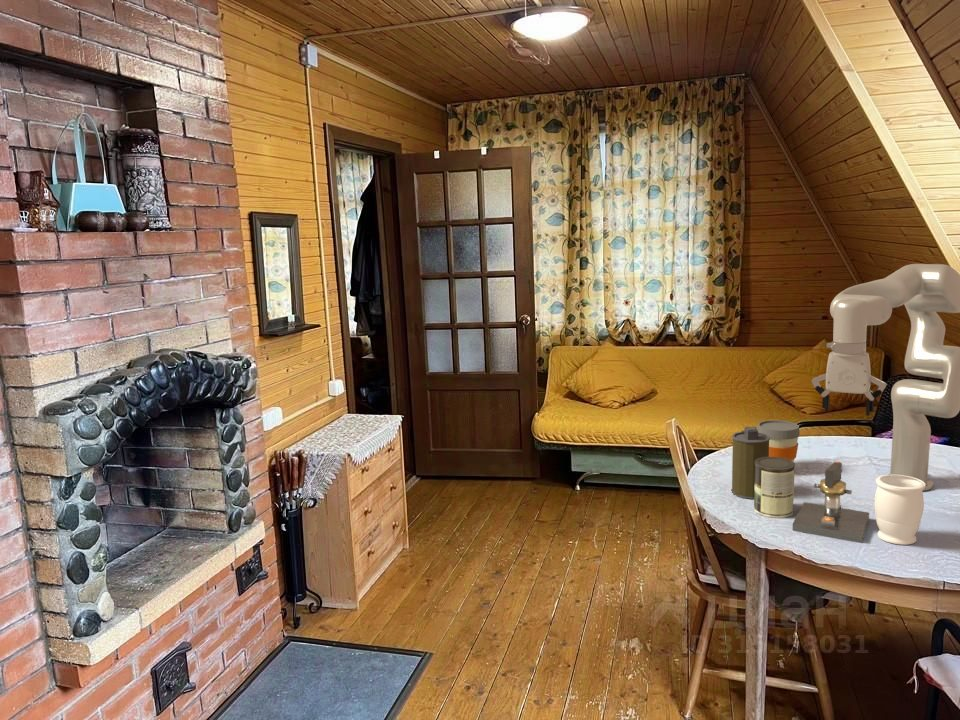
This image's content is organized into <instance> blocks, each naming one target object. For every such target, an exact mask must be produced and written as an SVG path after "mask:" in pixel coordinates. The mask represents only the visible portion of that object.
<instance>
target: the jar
mask: <svg viewBox="0 0 960 720" xmlns="http://www.w3.org/2000/svg"><path fill="white" fill-rule="evenodd" d="M875 483H876V485H877V487H876V490H875V493H874V500H873V501H874V513H875V521H876V524H877V527H878V529H879V530H878V532H877V534H876V535H877V537H878V539H880V540H881V541H884V542H887V543H889V544H895V545H899V546H900V545H903V546H904V545H913V544H914V543H916V542H917V537H916V533H917V532H918V530H919V528H920V525H921V521H922V518H923V514H924V508H925V507H924V506H925V504H924V503H925V501H924V499H925V498H924V493H923V491H922V490H924V488H925V483H924V482H923V481H921V480H919V479H917V478H913V477H909V476H904V475H888V474H883V475H882V474H881V475H879V476H877V477H876V478H875Z"/></svg>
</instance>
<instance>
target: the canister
mask: <svg viewBox="0 0 960 720" xmlns="http://www.w3.org/2000/svg"><path fill="white" fill-rule="evenodd" d="M757 428H758V427H757V426H755V425H754V426H744V429H743V430H741V431H738V432H735V433H733V434H732V435H731V437H732V456H731V457H732V459H731V460H732V461H731V462H732V465H731V466H732V467H731V469H732V471H731V473H732V474H731V489H730V492H731V491H732V492H731V494H732V493H733V494H732V495H733V496H735V495H736V497H738V496H739V497H738V498H740V497H742V499H745V500H754V489H755V460H756V459H758V458H762V457H769V440H770V437H769V436H768V435H766V434H763V433H759V432H758V429H757Z"/></svg>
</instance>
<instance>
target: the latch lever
mask: <svg viewBox="0 0 960 720" xmlns="http://www.w3.org/2000/svg"><path fill="white" fill-rule="evenodd" d="M842 469H843V463H842V462H841V461H834V462H833V463H831V465H829V466H828V467H827V468H826V469H825V472H824V474H825V475H824V478H823V479H820V480H819V483H820V484H819V483H814V488H817V489H819V491H820V493H822V494H824V495H825V494H827V495H833V496H840V497H841V496H845V495H846V494H847V495H852V494H853V491H852V490H851V489H847V483H846V482H845V481H843V480H842V471H843V470H842Z"/></svg>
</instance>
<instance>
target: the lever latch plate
mask: <svg viewBox="0 0 960 720" xmlns="http://www.w3.org/2000/svg"><path fill="white" fill-rule="evenodd" d="M869 522H870V512H869V511H867V512H866V511H864V510H863V511H861V510H856V509H855V510H854V509H850V508H842V504H841V495H840V496H833V495H827V494H824V504H818V503H810V502H805V501H804V502H803V503H802V506H801V507H800V510H798V513H797V514H796V516H795V519H794V520H793V522H792V531H794V532H798V533H805V534H810V535H817V536H822V537H826V538H827V537H828V538H832V539H838V540H842V541H843V540H844V541H850V542H854V543H859V544H862V543H863V541H862V540H864V538H863V537H865V535H866V530H867V527H868V524H869Z"/></svg>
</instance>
